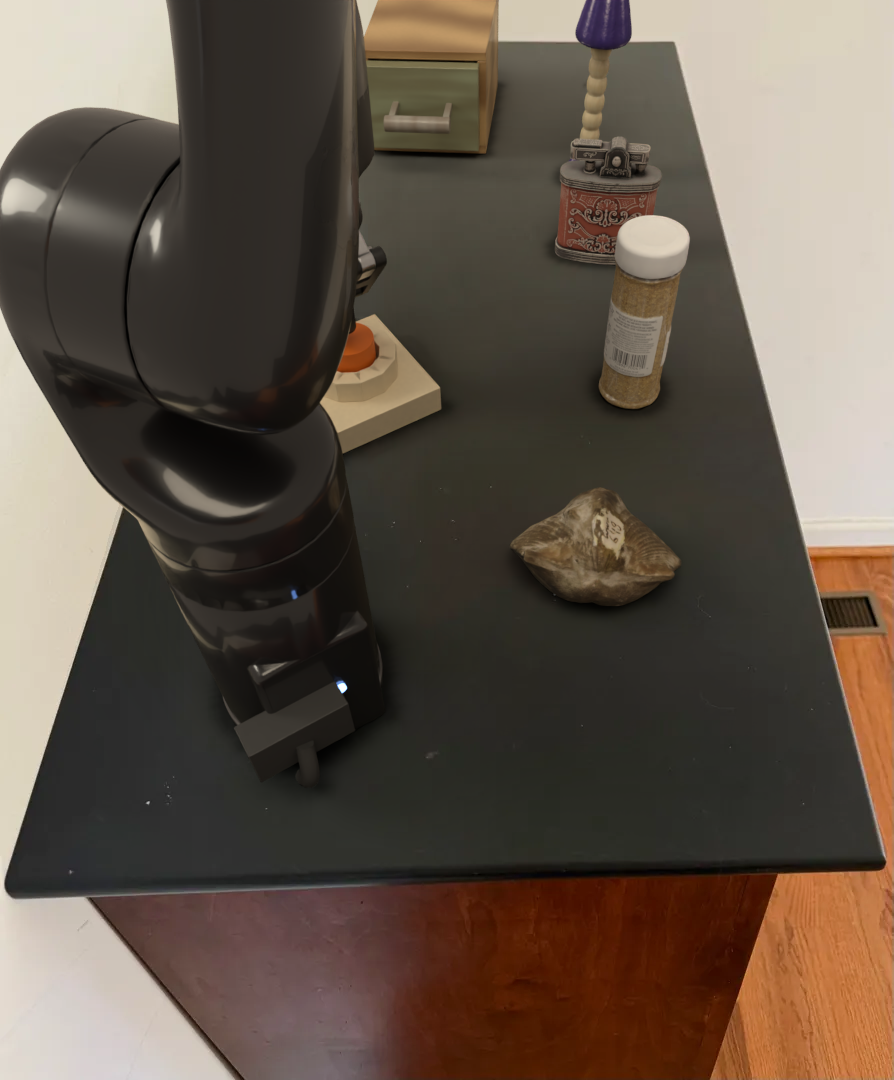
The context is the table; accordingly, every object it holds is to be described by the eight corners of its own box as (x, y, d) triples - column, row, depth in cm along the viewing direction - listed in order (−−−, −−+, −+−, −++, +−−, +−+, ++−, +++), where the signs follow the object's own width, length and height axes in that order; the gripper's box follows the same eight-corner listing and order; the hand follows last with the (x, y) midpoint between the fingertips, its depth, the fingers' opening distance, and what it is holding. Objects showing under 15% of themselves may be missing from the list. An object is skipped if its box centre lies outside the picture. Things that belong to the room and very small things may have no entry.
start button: (384, 361, 65) (382, 343, 64) (340, 380, 64) (337, 361, 63) (361, 334, 67) (358, 315, 66) (317, 352, 66) (314, 333, 65)
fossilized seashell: (489, 580, 55) (644, 652, 53) (529, 484, 52) (694, 557, 50) (518, 539, 61) (656, 601, 60) (554, 452, 59) (700, 515, 57)
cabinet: (485, 153, 89) (486, 52, 81) (369, 150, 90) (358, 49, 82) (497, 86, 97) (498, -12, 89) (390, 83, 98) (382, -14, 90)
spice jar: (670, 387, 68) (705, 229, 57) (636, 421, 66) (665, 263, 55) (619, 361, 70) (643, 203, 59) (584, 393, 68) (603, 235, 57)
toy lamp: (609, 163, 87) (632, -30, 74) (617, 190, 84) (642, -5, 71) (559, 166, 87) (573, -26, 74) (566, 193, 84) (581, -2, 71)
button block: (441, 409, 67) (439, 368, 64) (333, 458, 65) (325, 418, 61) (377, 335, 73) (372, 294, 69) (275, 378, 70) (265, 337, 67)
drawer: (474, 175, 85) (473, 91, 79) (364, 171, 86) (355, 88, 80) (490, 88, 95) (490, 8, 89) (392, 85, 96) (385, 6, 90)
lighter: (649, 244, 79) (667, 132, 71) (647, 267, 77) (666, 155, 69) (556, 237, 80) (564, 127, 72) (552, 260, 78) (560, 149, 70)
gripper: (420, 108, 48) (433, 362, 61) (306, 21, 55) (340, 266, 68) (292, 152, 45) (335, 406, 59) (190, 54, 52) (249, 301, 66)
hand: (337, 330), depth 64 cm, fingers closed
